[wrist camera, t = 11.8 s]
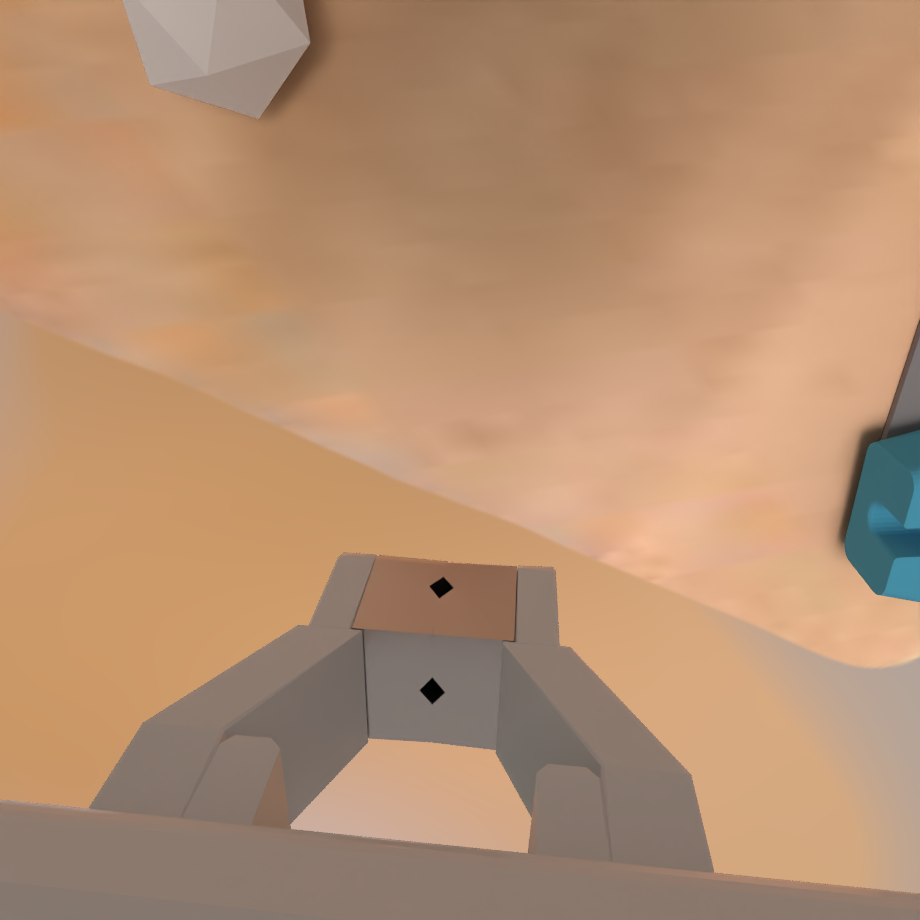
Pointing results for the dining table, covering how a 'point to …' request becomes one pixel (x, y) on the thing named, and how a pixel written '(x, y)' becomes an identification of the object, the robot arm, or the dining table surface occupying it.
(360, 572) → the robot arm
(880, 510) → the block
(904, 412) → the mat
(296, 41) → the die
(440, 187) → the dining table surface
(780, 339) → the dining table surface
